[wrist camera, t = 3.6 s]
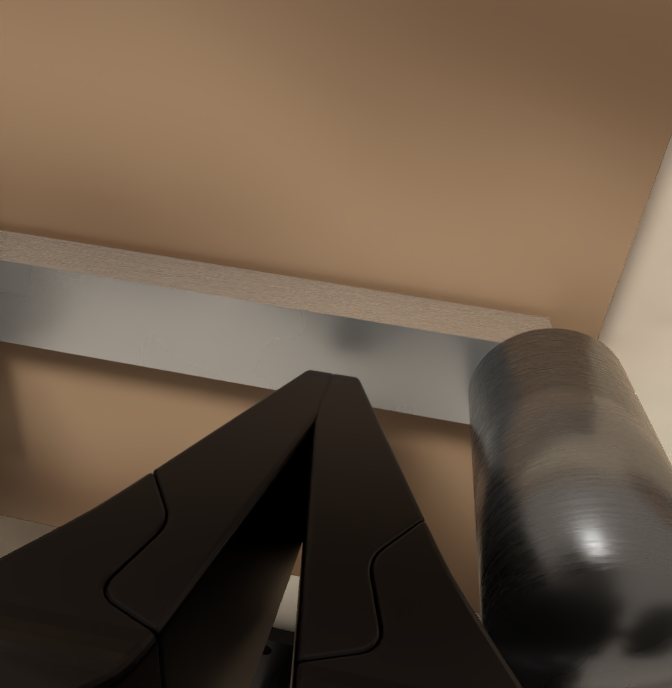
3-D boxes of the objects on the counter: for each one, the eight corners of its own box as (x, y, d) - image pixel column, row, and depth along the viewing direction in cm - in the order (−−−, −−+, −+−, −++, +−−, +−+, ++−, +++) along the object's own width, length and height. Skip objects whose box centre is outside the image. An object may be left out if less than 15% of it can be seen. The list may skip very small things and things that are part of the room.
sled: (555, 501, 12) (633, 850, 7) (-269, 347, 14) (-683, 542, 9) (672, 194, 9) (956, 421, 4) (-405, 42, 11) (-1166, 70, 6)
